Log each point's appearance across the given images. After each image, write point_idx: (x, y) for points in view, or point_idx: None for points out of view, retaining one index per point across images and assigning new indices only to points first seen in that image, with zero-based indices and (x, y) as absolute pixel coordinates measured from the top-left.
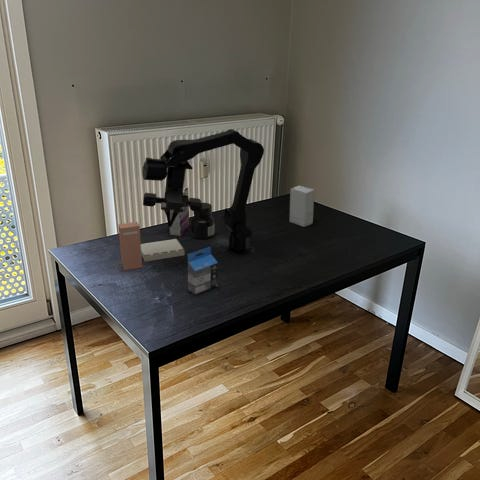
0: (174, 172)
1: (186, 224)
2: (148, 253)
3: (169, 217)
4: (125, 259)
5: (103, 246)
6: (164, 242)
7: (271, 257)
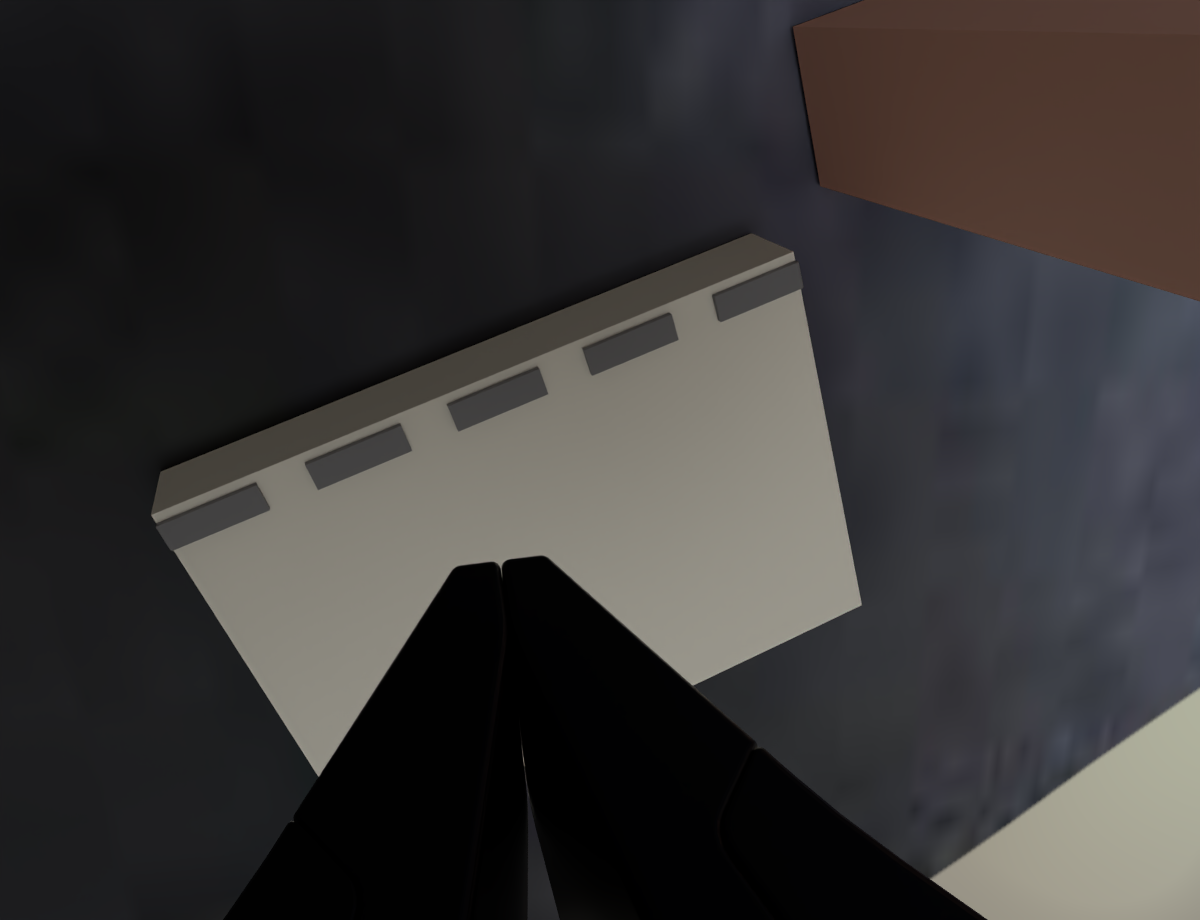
0: None
1: None
2: (738, 354)
3: (634, 802)
4: None
5: (1145, 589)
6: None
7: None
